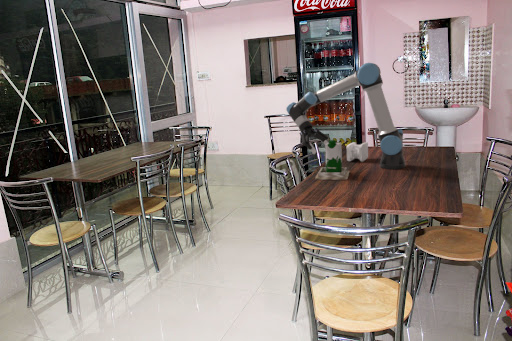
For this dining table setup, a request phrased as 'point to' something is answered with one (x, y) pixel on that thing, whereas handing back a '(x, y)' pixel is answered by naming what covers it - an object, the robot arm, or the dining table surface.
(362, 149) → the cable organizer
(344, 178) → the tray
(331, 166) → the milk carton
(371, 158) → the dining table surface
